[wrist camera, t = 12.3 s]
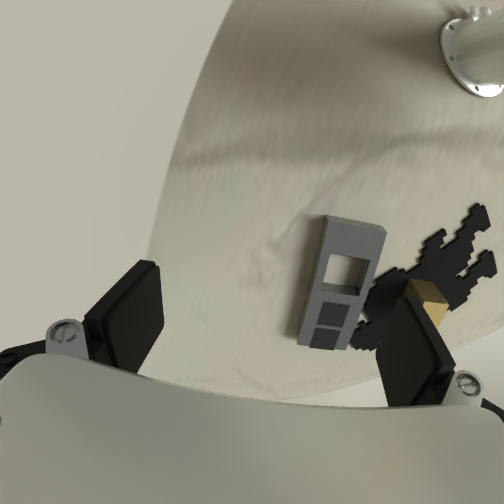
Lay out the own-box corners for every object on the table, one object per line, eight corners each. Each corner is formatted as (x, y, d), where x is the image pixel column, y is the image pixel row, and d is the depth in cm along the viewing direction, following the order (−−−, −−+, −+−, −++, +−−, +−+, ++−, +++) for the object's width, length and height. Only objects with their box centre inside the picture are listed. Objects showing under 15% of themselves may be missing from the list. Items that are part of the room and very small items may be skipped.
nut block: (408, 276, 38) (424, 301, 32) (431, 280, 38) (449, 304, 32) (398, 301, 40) (411, 328, 34) (420, 304, 40) (436, 330, 34)
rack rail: (326, 215, 36) (328, 221, 34) (381, 226, 36) (387, 232, 34) (296, 335, 45) (296, 345, 42) (343, 341, 44) (345, 351, 42)
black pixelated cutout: (480, 199, 32) (323, 302, 42) (483, 200, 31) (324, 305, 41) (499, 275, 36) (365, 361, 46) (502, 277, 35) (366, 365, 45)
